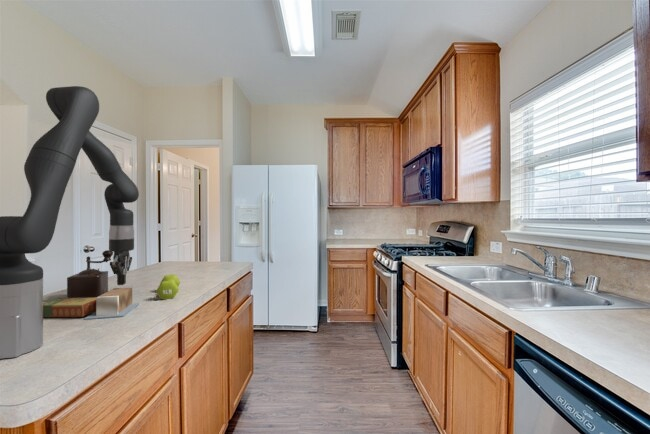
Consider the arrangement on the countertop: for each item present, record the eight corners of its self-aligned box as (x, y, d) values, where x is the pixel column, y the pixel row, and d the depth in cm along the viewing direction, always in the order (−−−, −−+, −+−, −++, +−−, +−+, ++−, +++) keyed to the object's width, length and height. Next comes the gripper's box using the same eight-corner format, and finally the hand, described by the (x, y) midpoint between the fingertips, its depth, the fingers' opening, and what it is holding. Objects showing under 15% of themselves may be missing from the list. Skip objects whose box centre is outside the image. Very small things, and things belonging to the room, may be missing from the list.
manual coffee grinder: (100, 299, 110) (101, 254, 110) (65, 301, 107) (66, 255, 106) (114, 289, 125) (115, 249, 125) (84, 291, 121) (84, 250, 121)
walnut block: (132, 303, 104) (117, 314, 93) (113, 304, 103) (96, 315, 91) (132, 287, 104) (117, 296, 93) (113, 288, 103) (96, 297, 91)
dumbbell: (178, 299, 112) (178, 281, 112) (155, 301, 108) (155, 283, 108) (180, 289, 127) (180, 273, 127) (160, 290, 123) (160, 274, 123)
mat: (123, 316, 91) (123, 315, 91) (83, 319, 89) (83, 318, 89) (138, 304, 104) (138, 303, 104) (104, 306, 101) (104, 305, 101)
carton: (82, 317, 90) (82, 304, 89) (34, 317, 90) (33, 304, 90) (103, 308, 98) (103, 296, 98) (59, 308, 98) (59, 296, 98)
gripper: (125, 239, 97) (125, 288, 97) (140, 236, 109) (140, 280, 109) (100, 239, 95) (100, 289, 95) (118, 236, 107) (118, 280, 107)
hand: (121, 284), depth 102 cm, fingers closed
